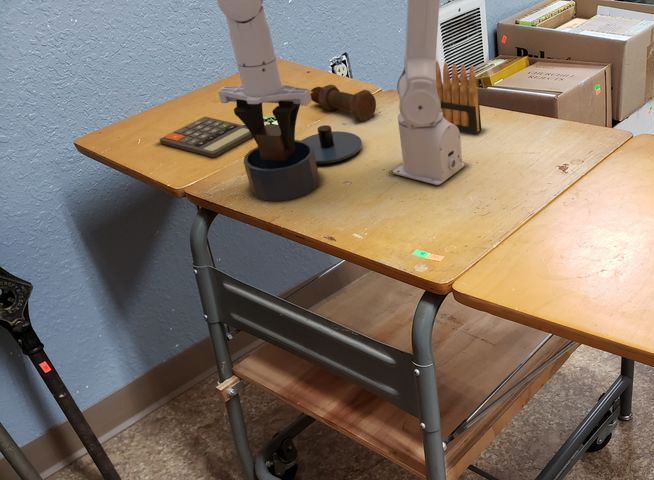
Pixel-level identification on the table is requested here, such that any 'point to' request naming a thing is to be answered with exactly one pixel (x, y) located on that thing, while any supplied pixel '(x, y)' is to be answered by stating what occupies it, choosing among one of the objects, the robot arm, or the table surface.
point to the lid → (333, 145)
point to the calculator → (208, 136)
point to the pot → (282, 174)
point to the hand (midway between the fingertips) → (276, 146)
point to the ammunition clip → (459, 98)
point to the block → (272, 144)
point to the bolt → (345, 101)
